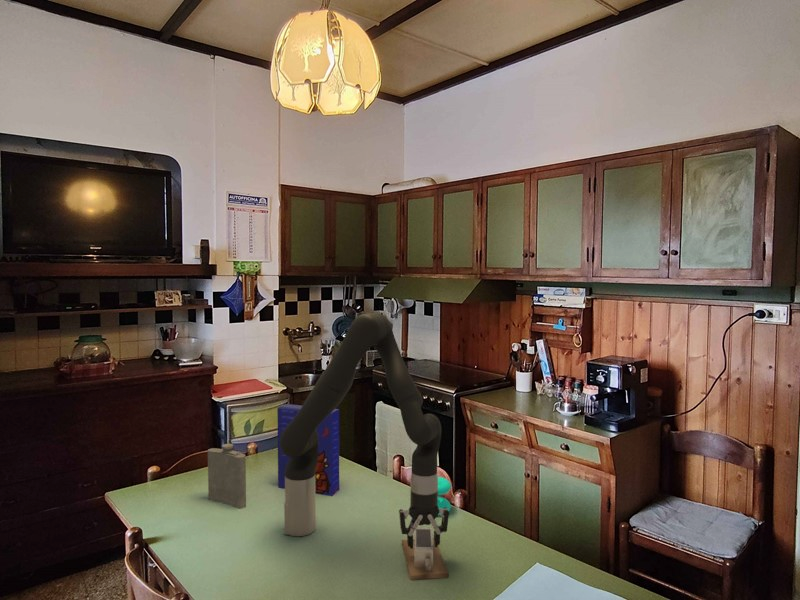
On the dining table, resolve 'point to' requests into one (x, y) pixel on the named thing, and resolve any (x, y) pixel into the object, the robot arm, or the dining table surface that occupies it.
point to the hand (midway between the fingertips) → (423, 546)
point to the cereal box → (326, 451)
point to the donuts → (443, 489)
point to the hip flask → (227, 476)
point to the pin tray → (421, 571)
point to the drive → (423, 546)
